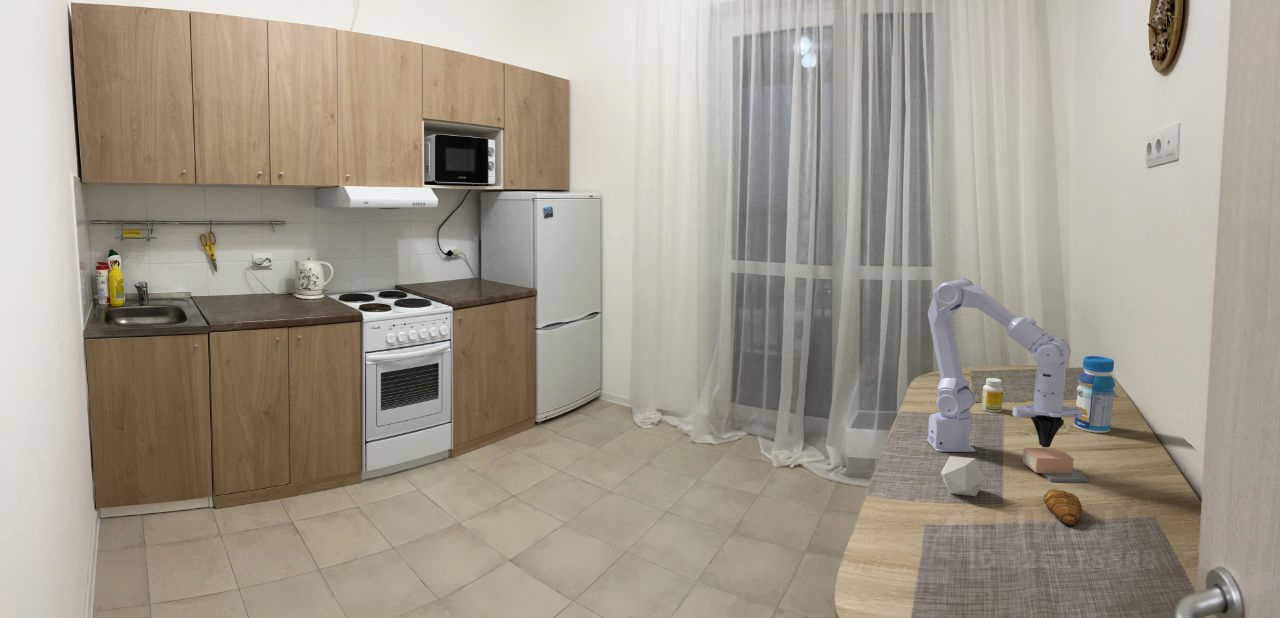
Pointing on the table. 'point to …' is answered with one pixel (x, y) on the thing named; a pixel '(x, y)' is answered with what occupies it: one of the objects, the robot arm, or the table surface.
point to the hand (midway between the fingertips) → (1044, 445)
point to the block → (1048, 460)
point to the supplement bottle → (992, 395)
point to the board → (1065, 477)
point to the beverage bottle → (1095, 394)
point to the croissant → (1063, 506)
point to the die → (962, 476)
